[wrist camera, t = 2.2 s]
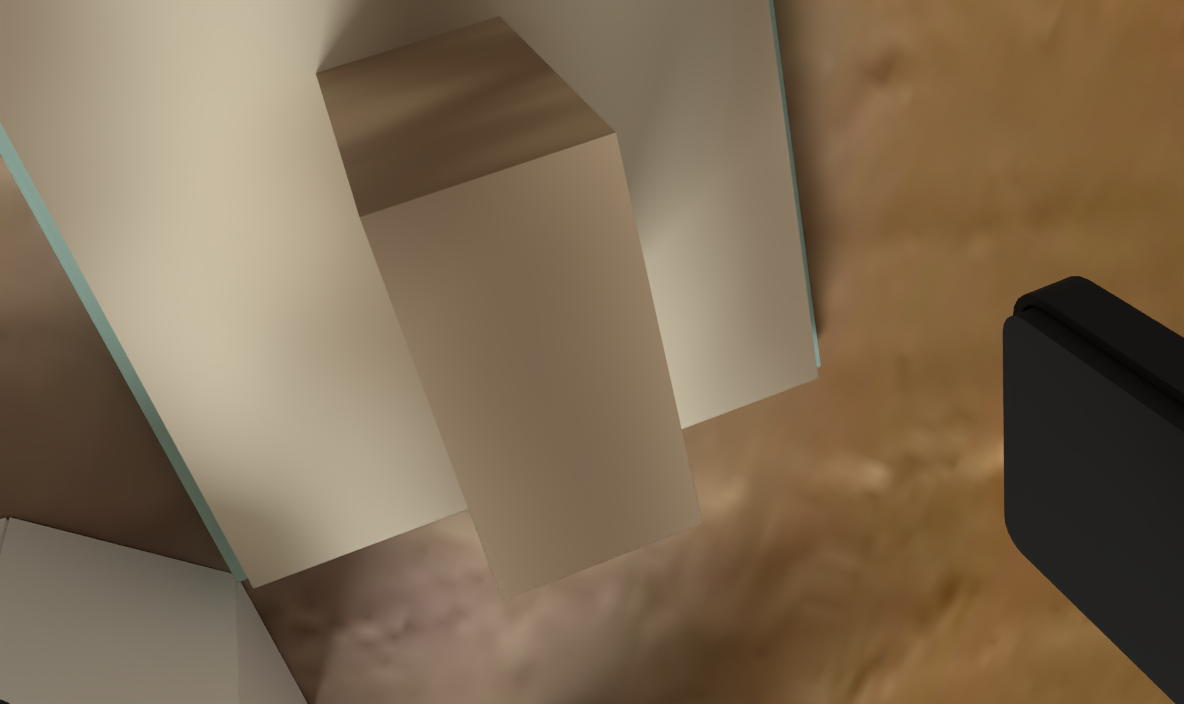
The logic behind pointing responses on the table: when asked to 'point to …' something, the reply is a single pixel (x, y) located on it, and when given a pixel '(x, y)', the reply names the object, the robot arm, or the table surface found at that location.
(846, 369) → the table surface
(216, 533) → the mat
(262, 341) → the lid
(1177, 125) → the table surface
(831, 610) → the table surface
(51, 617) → the bowl
